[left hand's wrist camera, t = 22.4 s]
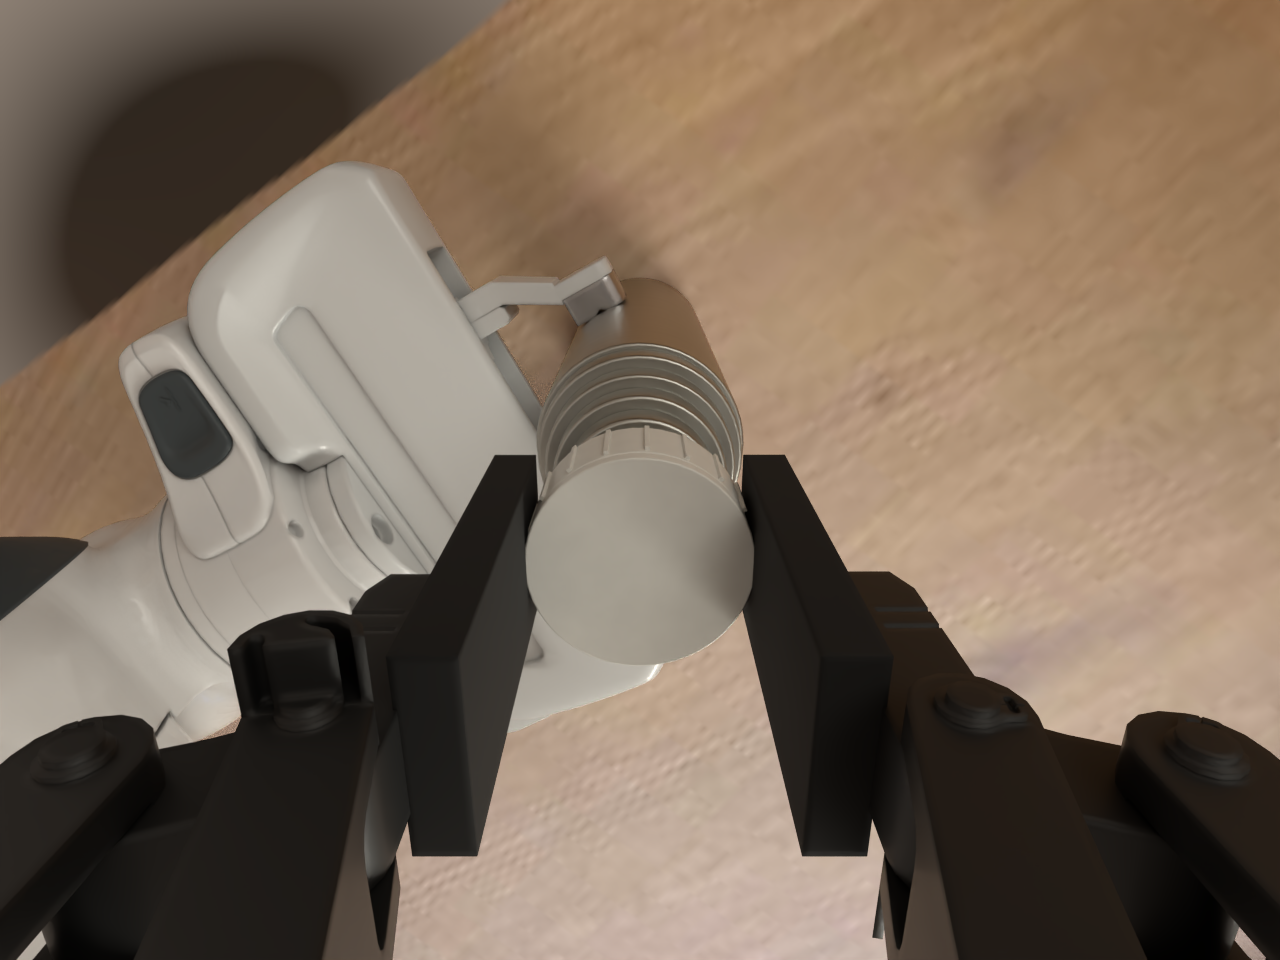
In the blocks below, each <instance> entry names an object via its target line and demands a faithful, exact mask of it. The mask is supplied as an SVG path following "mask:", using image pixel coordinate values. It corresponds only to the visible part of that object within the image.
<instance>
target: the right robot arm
mask: <svg viewBox="0 0 1280 960" xmlns="http://www.w3.org/2000/svg"><path fill="white" fill-rule="evenodd" d="M612 268H613V267H612V265H611V263H610V262H609V260H608V258H607V256H606V255H604V256H602V257H600V258H598V259H596V260H594V261H592V262H591V263H589V264H587V265H585V266H584V267H582V268H580V269H578V270H577V271H575V272H573V273H571V274H570V275H568V276H566V277H564V278H563V279H561V280H559V279H558V277H541V276H502V275H500V276H498V277H497V278H495V279H493V280H491V281H490V282H488V283H486V284H485V285H483V286H481V287H479V288H478V289H476V290H474V291H473V290H472V289H471V287H470V285H469V284H468V282H467V280H466V279H465V277H464V276H463V274H462V272H461V271H460V269H459V267H458V266H457V264H456V262H455V261H454V259H453V257H452V256H451V254H450V253H449V251H448V249H447V248H446V246H445V244H444V243H443V241H442V239H441V238H440V236H439V234H438V233H437V231H436V230H435V228H434V226H433V225H432V223H431V221H430V220H429V218H428V216H427V215H426V213H425V211H424V210H423V208H422V207H421V205H420V203H419V202H418V200H417V198H416V197H415V195H414V193H413V192H412V190H411V188H410V187H409V185H408V183H407V182H406V180H405V179H404V178H403V176H402V175H401V174H399V173H398V172H397V171H395V170H392V169H389V168H385V167H382V166H378V165H375V164H371V163H366V162H360V161H343V162H337V163H334V164H331V165H328V166H326V167H324V168H322V169H320V170H319V171H317V172H315V173H314V174H312V175H311V176H309V177H307V178H306V179H304V180H303V181H302V182H300V183H299V184H297V185H296V186H295V187H293V188H292V189H290V190H289V191H288V192H286V193H285V194H284V195H282V196H281V197H280V198H278V199H277V200H276V201H274V202H273V203H272V204H271V205H269V206H268V207H267V208H265V209H264V210H263V211H262V212H261V213H259V214H258V215H257V216H256V217H255V218H253V219H252V220H251V221H250V222H249V223H247V224H246V225H245V226H244V227H243V228H242V229H241V230H239V231H238V232H237V233H236V234H235V235H234V236H233V237H232V238H231V239H230V240H229V241H227V242H226V243H225V244H224V245H223V246H222V247H221V248H220V249H219V250H218V251H217V252H216V253H215V254H214V255H213V256H212V257H211V258H210V259H209V260H208V262H207V263H206V264H205V265H204V267H203V268H202V269H201V271H200V272H199V274H198V275H197V277H196V279H195V281H194V283H193V285H192V287H191V290H190V294H189V297H188V305H187V316H185V317H182V318H179V319H177V320H175V321H172V322H170V323H168V324H166V325H163V326H161V327H159V328H157V329H155V330H154V331H152V332H150V333H148V334H146V335H145V336H143V337H141V338H140V339H138V340H136V341H135V342H133V343H132V344H130V345H129V346H128V347H127V348H125V349H124V351H123V352H122V353H121V355H120V358H119V372H120V376H121V380H122V383H123V385H124V388H125V390H126V393H127V395H128V397H129V399H130V402H131V404H132V406H133V409H134V411H135V413H136V415H137V418H138V420H139V422H140V425H141V427H142V429H143V432H144V434H145V437H146V439H147V442H148V444H149V447H150V449H151V451H152V454H153V457H154V459H155V462H156V465H157V467H158V470H159V473H160V475H161V478H162V481H163V484H164V487H165V490H166V493H167V494H166V495H165V496H164V497H163V498H162V499H161V501H160V502H159V503H158V504H157V505H156V506H155V507H154V509H153V510H151V511H150V512H149V513H147V514H146V515H144V516H141V517H138V518H133V519H128V520H123V521H119V522H116V523H113V524H110V525H107V526H104V527H102V528H100V529H98V530H95V531H94V532H92V533H90V534H88V535H87V536H85V537H83V538H81V539H80V540H78V539H71V538H61V537H0V764H1V763H2V762H4V761H5V760H6V759H7V758H8V757H9V756H11V755H12V754H14V753H15V752H17V751H18V750H19V749H21V748H22V747H24V746H25V745H27V744H28V743H30V742H31V741H33V740H34V739H36V738H38V737H40V736H42V735H45V734H47V733H49V732H51V731H53V730H56V729H58V728H59V727H61V726H63V725H66V724H69V723H72V722H75V721H81V720H82V719H87V718H92V717H100V716H112V715H126V716H132V717H137V718H142V719H143V720H144V721H146V722H147V723H148V724H149V725H150V726H152V727H153V729H154V733H155V736H156V740H157V744H158V748H159V749H162V748H167V747H172V746H177V745H182V744H187V743H191V742H196V741H199V740H201V739H203V738H205V737H207V736H209V735H211V734H213V733H215V732H217V731H219V730H221V729H222V728H224V727H226V726H227V725H229V724H230V723H232V722H234V721H235V720H236V719H238V718H239V717H240V716H241V712H240V707H239V703H238V698H237V694H236V689H235V684H234V680H233V675H232V670H231V666H230V661H229V657H228V652H227V649H228V648H229V646H230V645H231V644H232V643H233V642H234V641H235V640H236V639H237V638H238V637H239V635H241V634H243V633H244V632H246V631H248V630H249V629H251V628H253V627H254V626H256V625H258V624H260V623H262V622H265V621H268V620H271V619H274V618H276V617H279V616H282V615H285V614H291V613H297V612H302V611H308V610H334V611H338V612H342V613H346V614H352V610H353V608H354V607H355V605H356V604H357V603H358V601H359V600H360V598H361V597H362V595H363V594H364V592H365V591H366V590H368V589H369V588H371V587H372V586H374V585H375V584H377V583H378V582H380V581H381V580H383V579H384V578H386V577H387V576H389V575H390V574H431V572H432V570H433V568H434V566H435V564H436V562H437V561H438V559H439V557H440V555H441V553H442V551H443V550H444V548H445V546H446V544H447V542H448V540H449V538H450V537H451V535H452V533H453V531H454V529H455V527H456V526H457V524H458V522H459V520H460V518H461V516H462V514H463V513H464V511H465V509H466V507H467V505H468V503H469V502H470V500H471V498H472V496H473V494H474V492H475V490H476V489H477V487H478V485H479V483H480V481H481V479H482V478H483V476H484V474H485V472H486V470H487V468H488V466H489V465H490V463H491V461H492V459H493V457H494V455H536V464H537V484H538V501H539V497H540V494H541V491H542V488H543V485H544V483H543V481H542V477H541V473H540V469H539V462H538V454H537V428H538V421H539V418H540V414H541V411H542V408H543V405H542V404H541V402H540V400H539V399H538V397H537V395H536V394H535V392H534V391H533V389H532V387H531V386H530V384H529V382H528V381H527V379H526V377H525V376H524V374H523V372H522V371H521V369H520V368H519V366H518V364H517V363H516V361H515V359H514V358H513V356H512V354H511V353H510V351H509V349H508V348H507V346H506V345H505V343H504V341H503V340H502V338H501V336H500V335H499V333H498V331H497V330H498V329H500V328H502V327H503V326H505V325H507V324H508V323H510V321H511V320H512V319H513V318H514V317H515V316H516V315H517V314H518V312H519V308H518V306H517V305H564V304H565V306H566V307H567V309H568V311H569V312H570V314H571V316H572V317H573V319H574V321H575V322H576V324H577V326H580V325H582V324H584V323H585V322H587V321H589V320H591V319H592V318H594V317H595V316H596V315H597V313H598V311H599V309H604V310H607V309H609V308H612V307H614V306H616V305H618V304H619V303H621V302H622V301H624V300H625V299H626V296H627V294H626V292H625V290H624V288H623V286H622V284H621V282H620V281H619V279H618V277H617V275H616V273H615V271H614V269H612ZM662 666H663V664H658V665H649V666H631V665H622V664H616V663H611V662H607V661H603V660H601V659H598V658H595V657H592V656H590V655H588V654H586V653H584V652H581V651H579V650H578V649H576V648H575V647H573V646H571V645H570V644H568V643H567V642H566V641H564V640H563V639H562V638H561V637H560V636H558V635H557V634H556V633H555V632H554V631H553V630H552V629H551V628H550V627H549V625H548V624H547V623H546V622H545V620H544V619H543V618H542V616H541V615H540V613H539V612H538V610H537V612H536V616H535V620H534V624H533V628H532V633H531V637H530V641H529V645H528V649H527V653H526V657H525V661H524V666H523V670H522V674H521V678H520V682H519V686H518V690H517V694H516V698H515V703H514V707H513V711H512V715H511V719H510V723H509V727H508V731H507V733H510V732H515V731H518V730H521V729H523V728H526V727H528V726H530V725H532V724H534V723H536V722H539V721H541V720H543V719H545V718H547V717H549V716H550V715H552V714H556V713H560V712H563V711H567V710H571V709H574V708H577V707H581V706H584V705H587V704H590V703H593V702H596V701H599V700H602V699H605V698H608V697H611V696H614V695H617V694H620V693H622V692H625V691H627V690H630V689H633V688H635V687H638V686H640V685H642V684H644V683H646V682H648V681H650V680H652V679H653V678H654V677H656V676H657V674H658V673H659V672H660V670H661V668H662ZM45 944H46V941H45V939H44V936H43V933H42V931H41V932H40V933H39V934H38V935H37V936H36V938H35V939H34V940H33V941H32V942H31V943H30V945H29V946H28V947H27V948H26V949H25V950H24V952H23V953H22V954H21V955H20V956H19V957H18V959H17V960H32V959H34V957H35V956H36V955H37V954H38V953H39V951H40V950H41V949H42V948H43V947H44V945H45Z"/></svg>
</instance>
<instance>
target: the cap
mask: <svg viewBox="0 0 1280 960" xmlns="http://www.w3.org/2000/svg"><path fill="white" fill-rule="evenodd" d="M745 512H747V508H746V505H745V502H744V499H743V496H742V493H741V490H740V487H739V485H738V483H737V482H736V483H734V482H733V480H732V479H731V477H730V475H729V473H728V472H727V471H726V469H725V468H724V467H723V465H722V464H721V463H720V462H719V458H718V456H717V455H716V454H714V455H712V454H711V453H710V452H708V451H707V450H706V449H704V448H703V447H702V446H700V445H699V444H697V443H695V442H693V441H692V440H690V439H688V438H687V435H685V434H682V436H681V435H678V434H676V433H672V432H668V431H665V430H660V429H652V428H649V426H646V425H645V426H644V428H627V429H620V430H615V431H611V430H610V429H609V430H606V433H604V434H602V435H599V436H597V437H594V438H592V439H590V440H588V441H586V442H584V443H583V444H581V445H579V446H578V447H577V446H576V445H575V446H573V447H572V449H571V452H570V453H569V454H568V455H567V456H566V457H565V458H564V459H563V460H562V461H561V462H560V463H559V464H558V465H557V466H556V468H555V469H554V470H553V472H550V471H549V472H548V473H547V476H546V479H545V482H544V485H543V488H542V491H541V494H540V497H539V501H538V504H536V507H535V510H534V513H533V516H532V519H531V522H530V526H529V529H528V536H527V540H526V545H525V554H526V573H527V586H528V590H529V593H530V595H531V598H532V601H533V603H534V604H535V606H536V608H537V610H538V612H539V613H540V615H541V616H542V618H543V619H544V620H545V622H546V623H547V624H548V625H549V627H550V628H551V629H552V630H553V631H554V632H555V633H556V634H557V635H558V636H560V637H561V638H562V639H563V640H564V641H566V642H567V643H568V644H570V645H571V646H573V647H575V648H576V649H578V650H579V651H581V652H584V653H586V654H588V655H590V656H592V657H595V658H598V659H601V660H603V661H607V662H611V663H616V664H622V665H631V666H649V665H658V664H664V663H668V662H673V661H676V660H679V659H682V658H685V657H688V656H690V655H692V654H694V653H696V652H698V651H700V650H702V649H704V648H705V647H707V646H708V645H710V644H711V643H713V642H714V641H715V640H717V639H718V638H719V637H720V636H721V635H722V634H724V633H725V632H726V631H727V629H728V628H729V627H730V626H731V625H732V624H733V623H734V621H735V620H736V619H737V617H738V616H739V614H740V613H741V612H742V610H743V608H744V606H745V604H746V602H747V600H748V597H749V595H750V592H751V589H752V580H753V564H754V542H753V538H752V533H751V530H750V527H749V524H748V521H747V518H746V515H745Z"/></svg>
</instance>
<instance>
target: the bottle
mask: <svg viewBox="0 0 1280 960" xmlns="http://www.w3.org/2000/svg"><path fill="white" fill-rule="evenodd" d="M620 282H621V284H622V286H623V288H624V290H625V292H626V294H627V296H626V299H625V300H624V301H622V302H621V303H619V304H618V305H616V306H614V307H612V308H609V309H607V310H604V309H599V311H598V313H597V315H596V316H595V317H594V318H592V319H591V320H589V321H587V322H585V323H584V324H582V325H580V326H579V327H578V329H577V331H576V333H575V336H574V338H573V340H572V342H571V345H570V347H569V349H568V351H567V354H566V356H565V358H564V360H563V363H562V365H561V367H560V369H559V372H558V374H557V376H556V378H555V381H554V383H553V385H552V387H551V390H550V392H549V394H548V396H547V399H546V401H545V403H544V405H543V408H542V411H541V414H540V418H539V421H538V428H537V454H538V462H539V469H540V473H541V477H542V481H543V483H544V482H545V479H546V476H547V473H548V472H549V471H550V472H553V470H554V469H555V468H556V466H557V465H558V464H559V463H560V462H561V461H562V460H563V459H564V458H565V457H566V456H567V455H568V454H569V453H570V452H571V449H572V447H573V446H575V445H576V446H577V447H578V446H579V445H581V444H583V443H584V442H586V441H588V440H590V439H592V438H594V437H597V436H599V435H602V434H604V433H606V430H609V429H610V430H611V431H615V430H620V429H627V428H644V426H645V425H646V426H649V428H652V429H660V430H665V431H668V432H672V433H676V434H678V435H681V436H682V434H685V435H687V438H688V439H690V440H692V441H693V442H695V443H697V444H699V445H700V446H702V447H703V448H704V449H706V450H707V451H708V452H710V453H711V454H712V455H714V454H716V455H717V456H718V458H719V462H720V463H721V464H722V465H723V467H724V468H725V469H726V471H727V472H728V473H729V475H730V477H731V479H732V480H733V482H734V483H736V482H737V480H738V476H739V472H740V468H741V460H742V453H743V429H742V423H741V418H740V415H739V412H738V408H737V406H736V403H735V401H734V399H733V397H732V394H731V392H730V390H729V388H728V385H727V383H726V381H725V379H724V376H723V374H722V372H721V370H720V367H719V365H718V363H717V361H716V358H715V356H714V354H713V352H712V349H711V347H710V345H709V342H708V340H707V338H706V336H705V333H704V331H703V329H702V327H701V324H700V322H699V320H698V318H697V316H696V313H695V311H694V309H693V308H692V306H691V305H690V303H689V302H688V301H687V299H686V298H685V297H684V296H683V295H682V294H681V293H680V292H678V291H677V290H676V289H674V288H673V287H671V286H669V285H667V284H665V283H663V282H660V281H657V280H653V279H648V278H632V279H627V280H622V281H620Z"/></svg>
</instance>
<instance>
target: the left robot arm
mask: <svg viewBox="0 0 1280 960" xmlns="http://www.w3.org/2000/svg"><path fill="white" fill-rule="evenodd" d="M742 496H743V499H744V502H745V505H746V508H747V512H745V515H746V518H747V521H748V524H749V527H750V530H751V533H752V538H753V542H754V564H753V580H752V589H751V592H750V595H749V597H748V600H747V602H746V604H745V606H744V608H743V614H744V618H745V622H746V626H747V630H748V635H749V639H750V643H751V647H752V651H753V655H754V659H755V663H756V668H757V672H758V676H759V680H760V684H761V688H762V692H763V696H764V701H765V705H766V709H767V713H768V717H769V721H770V725H771V729H772V734H773V738H774V742H775V746H776V750H777V754H778V758H779V762H780V767H781V771H782V775H783V779H784V783H785V787H786V791H787V795H788V800H789V804H790V808H791V812H792V816H793V820H794V824H795V828H796V833H797V837H798V841H799V845H800V849H801V853H802V856H867V853H868V846H869V838H870V831H871V823H872V819H873V822H874V825H875V827H876V830H877V833H878V836H879V838H880V841H881V844H882V847H883V849H884V852H885V853H884V860H883V867H882V874H881V881H880V888H879V895H878V902H877V909H876V916H875V923H874V930H873V937H872V938H878V939H883V935H884V930H885V939H886V948H887V957H888V960H1251V959H1250V958H1249V957H1248V956H1247V955H1246V954H1245V952H1244V951H1243V950H1242V949H1241V948H1240V946H1239V945H1238V944H1237V943H1236V942H1235V940H1234V939H1235V937H1236V934H1237V931H1238V929H1239V927H1240V928H1241V929H1242V930H1243V931H1244V933H1245V934H1246V935H1247V936H1248V937H1249V938H1250V940H1251V941H1252V942H1253V943H1254V944H1255V945H1256V947H1257V948H1258V949H1259V950H1260V951H1261V952H1262V953H1263V955H1264V956H1265V957H1266V959H1265V960H1280V760H1279V759H1278V758H1277V757H1276V756H1274V755H1273V754H1272V753H1271V752H1270V751H1268V750H1267V749H1265V748H1264V747H1262V746H1261V745H1259V744H1258V743H1256V742H1255V741H1253V740H1252V739H1250V738H1249V737H1247V736H1246V735H1244V734H1242V733H1240V732H1237V731H1235V730H1233V729H1231V728H1229V727H1226V726H1224V725H1222V724H1221V723H1219V722H1217V721H1214V720H1211V719H1208V718H1204V717H1202V718H1200V717H1199V716H1197V715H1191V714H1186V713H1175V712H1164V711H1156V712H1151V713H1146V714H1140V715H1138V716H1136V717H1135V718H1134V719H1133V720H1132V721H1130V722H1129V723H1128V724H1127V727H1126V730H1125V734H1124V738H1123V742H1122V745H1121V746H1120V745H1115V744H1110V743H1105V742H1100V741H1095V740H1090V739H1085V738H1080V737H1075V736H1070V735H1066V734H1062V733H1058V732H1055V731H1051V730H1047V729H1044V728H1043V725H1042V723H1041V721H1040V719H1039V717H1038V715H1037V714H1036V713H1035V711H1034V710H1033V709H1032V707H1031V706H1030V705H1029V703H1028V702H1027V701H1026V700H1024V699H1023V698H1021V697H1020V696H1019V695H1017V694H1016V693H1014V692H1013V691H1011V690H1010V689H1009V688H1007V687H1004V686H1002V685H999V684H997V683H995V682H992V681H990V680H987V679H985V678H981V677H976V676H974V675H973V673H972V672H971V670H970V669H969V667H968V666H967V664H966V663H965V661H964V660H963V659H962V657H961V656H960V654H959V653H958V651H957V650H956V648H955V647H954V645H953V644H952V642H951V641H950V640H949V638H948V637H947V635H946V634H945V632H944V631H943V629H942V628H939V624H938V622H937V621H936V619H935V618H934V616H933V615H932V613H931V612H928V607H927V606H926V605H925V603H924V602H923V600H922V599H921V597H920V596H919V594H918V593H917V591H916V590H915V588H913V587H912V586H910V585H909V584H907V583H906V582H904V581H903V580H901V579H900V578H898V577H896V576H895V575H893V574H892V573H890V572H848V571H847V569H846V567H845V565H844V563H843V562H842V560H841V558H840V556H839V554H838V552H837V551H836V549H835V547H834V545H833V543H832V541H831V539H830V538H829V536H828V534H827V532H826V530H825V528H824V527H823V525H822V523H821V521H820V519H819V517H818V515H817V514H816V512H815V510H814V508H813V506H812V504H811V503H810V501H809V499H808V497H807V495H806V493H805V491H804V490H803V488H802V486H801V484H800V482H799V480H798V479H797V477H796V475H795V473H794V471H793V469H792V467H791V466H790V464H789V462H788V460H787V458H786V456H785V455H743V474H742ZM536 504H538V484H537V464H536V455H494V457H493V459H492V461H491V463H490V465H489V466H488V468H487V470H486V472H485V474H484V476H483V478H482V479H481V481H480V483H479V485H478V487H477V489H476V490H475V492H474V494H473V496H472V498H471V500H470V502H469V503H468V505H467V507H466V509H465V511H464V513H463V514H462V516H461V518H460V520H459V522H458V524H457V526H456V527H455V529H454V531H453V533H452V535H451V537H450V538H449V540H448V542H447V544H446V546H445V548H444V550H443V551H442V553H441V555H440V557H439V559H438V561H437V562H436V564H435V566H434V568H433V570H432V572H431V574H390V575H389V576H387V577H386V578H384V579H383V580H381V581H380V582H378V583H377V584H375V585H374V586H372V587H371V588H369V589H368V590H366V591H365V592H364V594H363V595H362V597H361V598H360V600H359V601H358V603H357V604H356V605H355V607H354V608H353V610H352V614H346V613H342V612H338V611H334V610H308V611H302V612H297V613H291V614H285V615H282V616H279V617H276V618H274V619H271V620H268V621H265V622H262V623H260V624H258V625H256V626H254V627H253V628H251V629H249V630H248V631H246V632H244V633H243V634H241V635H239V637H238V638H237V639H236V640H235V641H234V642H233V643H232V644H231V645H230V646H229V648H228V649H227V652H228V657H229V661H230V666H231V670H232V675H233V680H234V684H235V689H236V694H237V698H238V703H239V707H240V712H241V717H242V718H241V720H240V722H239V725H238V727H237V729H236V731H235V732H234V733H230V734H227V735H223V736H219V737H215V738H211V739H206V740H201V741H196V742H191V743H187V744H182V745H177V746H172V747H167V748H162V749H159V748H158V744H157V740H156V736H155V733H154V729H153V727H152V726H150V725H149V724H148V723H147V722H146V721H144V720H143V719H142V718H137V717H132V716H126V715H112V716H100V717H92V718H87V719H82V720H81V721H75V722H72V723H69V724H66V725H63V726H61V727H59V728H58V729H56V730H53V731H51V732H49V733H47V734H45V735H42V736H40V737H38V738H36V739H34V740H33V741H31V742H30V743H28V744H27V745H25V746H24V747H22V748H21V749H19V750H18V751H17V752H15V753H14V754H12V755H11V756H9V757H8V758H7V759H6V760H5V761H4V762H2V763H1V764H0V960H17V959H18V957H19V956H20V955H21V954H22V953H23V952H24V950H25V949H26V948H27V947H28V946H29V945H30V943H31V942H32V941H33V940H34V939H35V938H36V936H37V935H38V934H39V933H40V932H41V931H42V933H43V936H44V939H45V941H46V944H45V945H44V947H43V948H42V949H41V950H40V951H39V953H38V954H37V955H36V956H35V957H34V959H32V960H392V959H393V950H394V941H395V932H396V923H397V914H398V905H399V896H400V881H399V874H398V867H397V860H396V852H397V849H398V846H399V844H400V841H401V838H402V835H403V833H404V830H405V827H406V824H407V822H408V827H409V835H410V842H411V850H412V856H477V855H478V851H479V847H480V843H481V839H482V835H483V830H484V826H485V822H486V818H487V814H488V810H489V806H490V802H491V797H492V793H493V789H494V785H495V781H496V777H497V773H498V769H499V764H500V760H501V756H502V752H503V748H504V744H505V740H506V736H507V731H508V727H509V723H510V719H511V715H512V711H513V707H514V703H515V698H516V694H517V690H518V686H519V682H520V678H521V674H522V670H523V666H524V661H525V657H526V653H527V649H528V645H529V641H530V637H531V633H532V628H533V624H534V620H535V616H536V612H537V608H536V606H535V604H534V603H533V601H532V598H531V595H530V593H529V590H528V586H527V573H526V554H525V545H526V540H527V536H528V529H529V526H530V522H531V519H532V516H533V513H534V510H535V507H536Z"/></svg>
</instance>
